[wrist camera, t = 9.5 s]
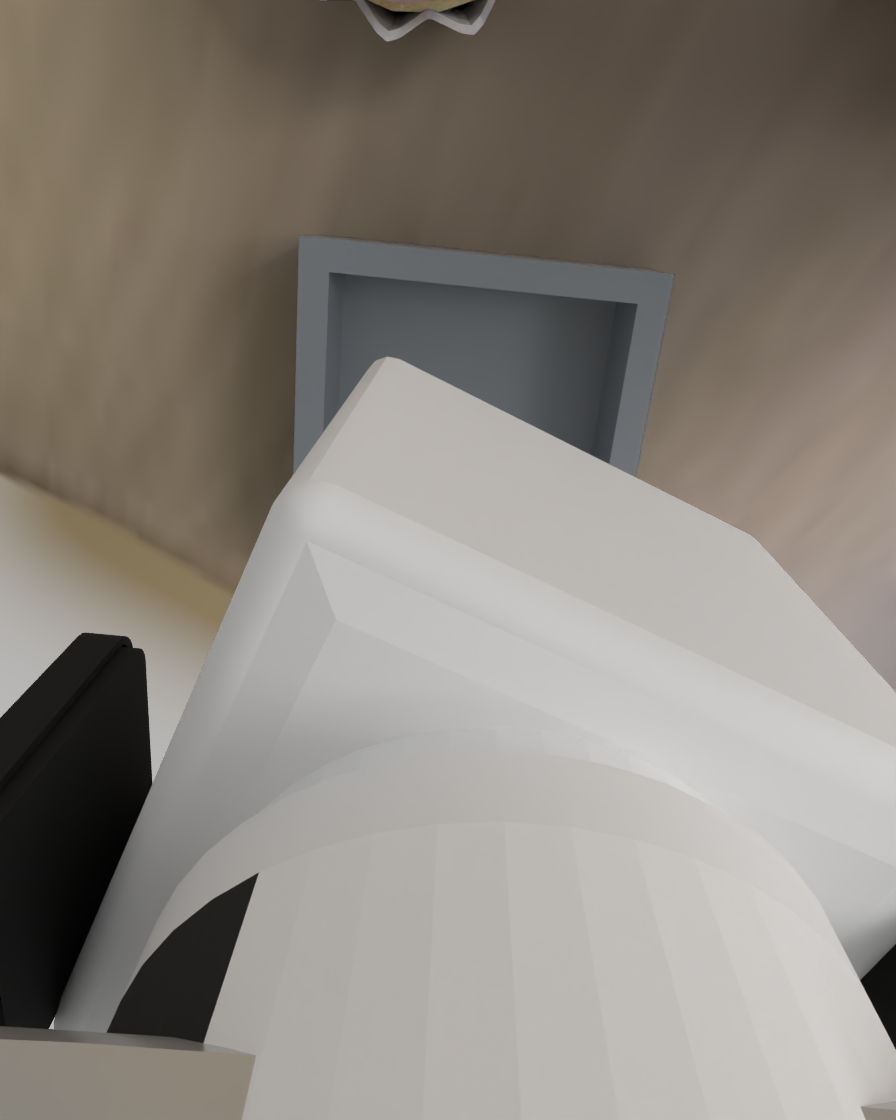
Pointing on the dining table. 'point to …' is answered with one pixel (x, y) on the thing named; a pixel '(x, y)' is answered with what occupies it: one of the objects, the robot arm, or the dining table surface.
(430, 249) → the end holder
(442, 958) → the medicine bottle
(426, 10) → the cupcake
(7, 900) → the robot arm
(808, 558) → the dining table surface
